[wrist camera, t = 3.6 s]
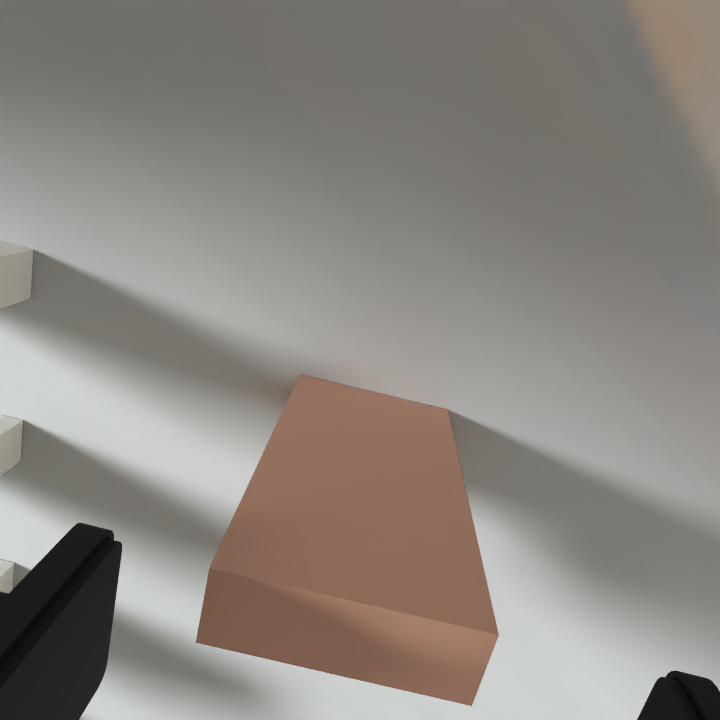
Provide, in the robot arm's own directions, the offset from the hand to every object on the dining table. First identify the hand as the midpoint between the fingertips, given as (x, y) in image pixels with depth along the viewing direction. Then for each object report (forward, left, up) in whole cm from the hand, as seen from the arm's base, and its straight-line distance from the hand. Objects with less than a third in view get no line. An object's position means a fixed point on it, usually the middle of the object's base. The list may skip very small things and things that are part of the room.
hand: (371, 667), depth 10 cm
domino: (0, -1, -10) cm, 10 cm away
